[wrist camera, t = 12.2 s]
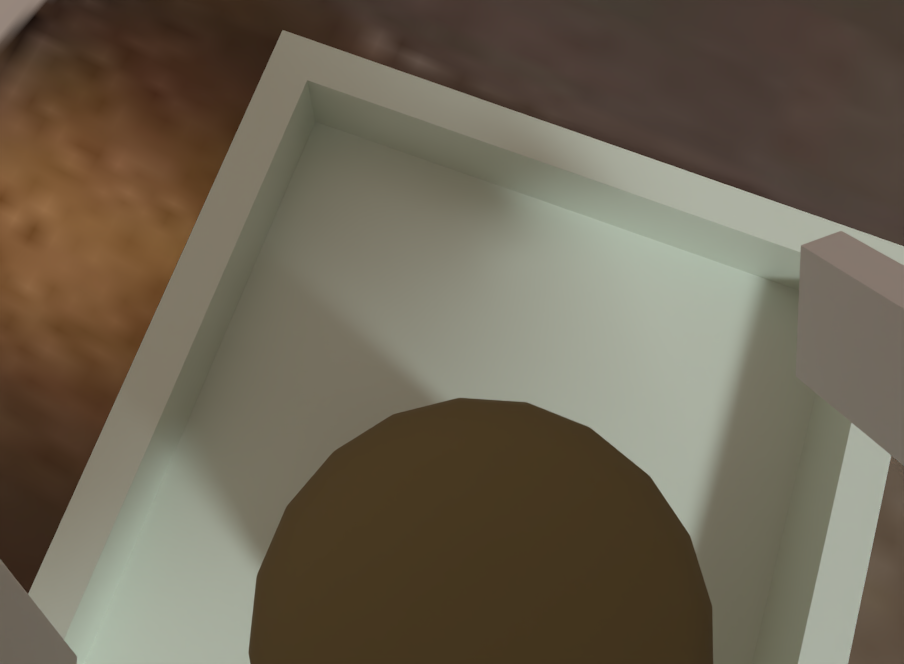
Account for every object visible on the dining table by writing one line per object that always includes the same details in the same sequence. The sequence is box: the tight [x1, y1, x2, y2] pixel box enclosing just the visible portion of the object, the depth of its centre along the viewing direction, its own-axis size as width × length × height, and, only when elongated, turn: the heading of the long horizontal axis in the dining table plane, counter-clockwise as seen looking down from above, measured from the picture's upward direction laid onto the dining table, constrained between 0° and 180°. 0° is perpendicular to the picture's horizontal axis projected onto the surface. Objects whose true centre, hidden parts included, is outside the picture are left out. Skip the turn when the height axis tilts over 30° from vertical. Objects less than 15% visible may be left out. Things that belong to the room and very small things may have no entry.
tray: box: [28, 30, 904, 664], centre depth 18 cm, size 20×16×3 cm
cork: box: [248, 398, 713, 664], centre depth 13 cm, size 6×6×11 cm
